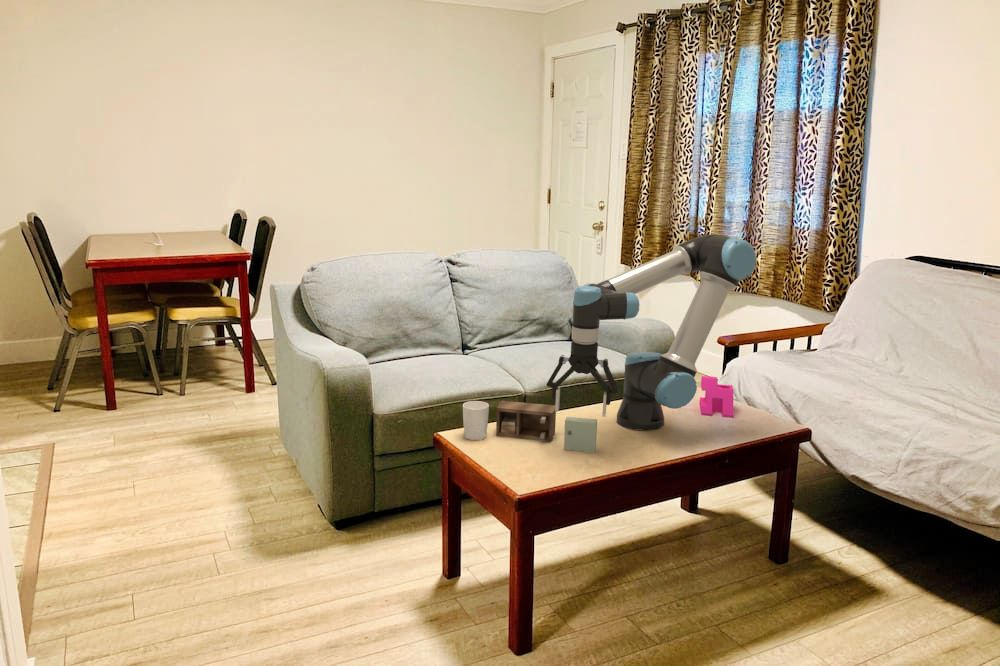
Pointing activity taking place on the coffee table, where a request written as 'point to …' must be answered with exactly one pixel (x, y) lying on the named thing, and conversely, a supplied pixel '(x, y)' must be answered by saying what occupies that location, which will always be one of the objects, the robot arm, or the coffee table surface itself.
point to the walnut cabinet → (526, 420)
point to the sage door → (580, 434)
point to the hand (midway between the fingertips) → (580, 412)
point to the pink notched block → (716, 397)
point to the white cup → (475, 419)
